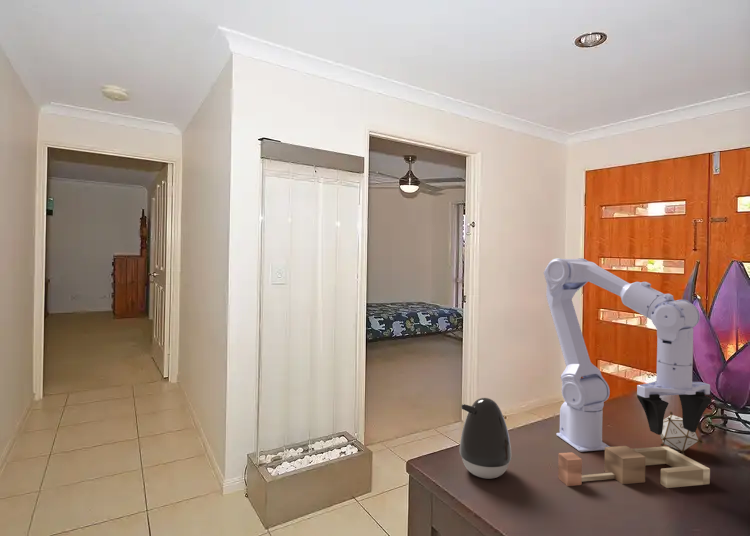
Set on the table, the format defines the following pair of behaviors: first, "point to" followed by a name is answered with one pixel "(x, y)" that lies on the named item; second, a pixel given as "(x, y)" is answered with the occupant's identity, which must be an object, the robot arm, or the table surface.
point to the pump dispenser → (485, 440)
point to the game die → (677, 434)
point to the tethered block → (617, 466)
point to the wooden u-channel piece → (676, 467)
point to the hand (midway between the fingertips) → (672, 431)
